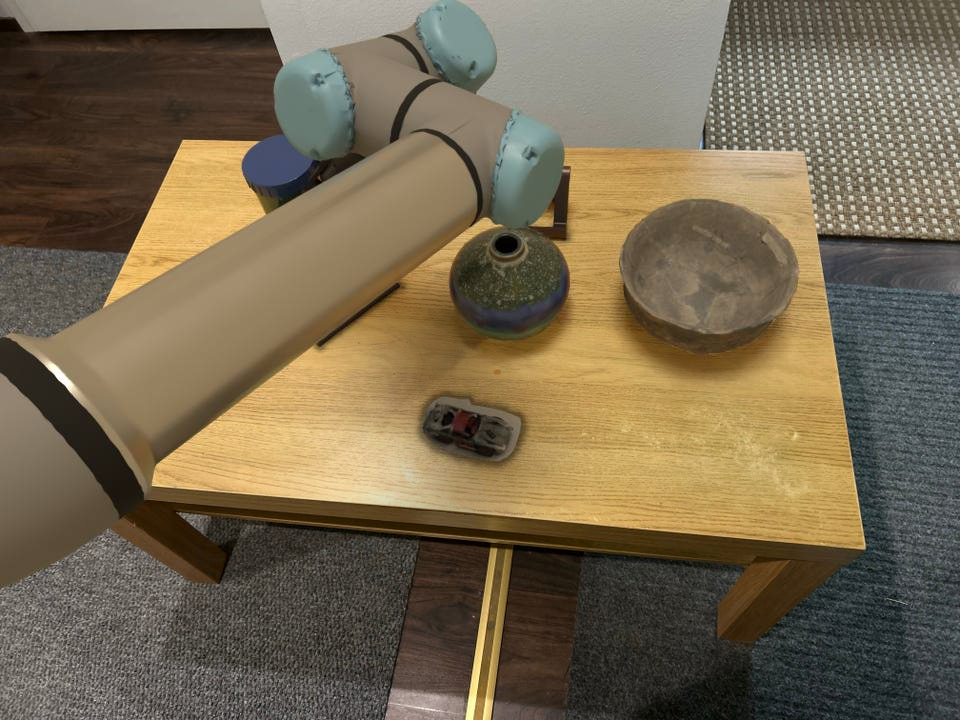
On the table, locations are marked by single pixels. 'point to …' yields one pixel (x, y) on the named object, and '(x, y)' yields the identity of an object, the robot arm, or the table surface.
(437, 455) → the table surface
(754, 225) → the bowl
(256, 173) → the lid
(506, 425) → the toy car
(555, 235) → the tablet stand
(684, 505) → the table surface
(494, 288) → the vase
